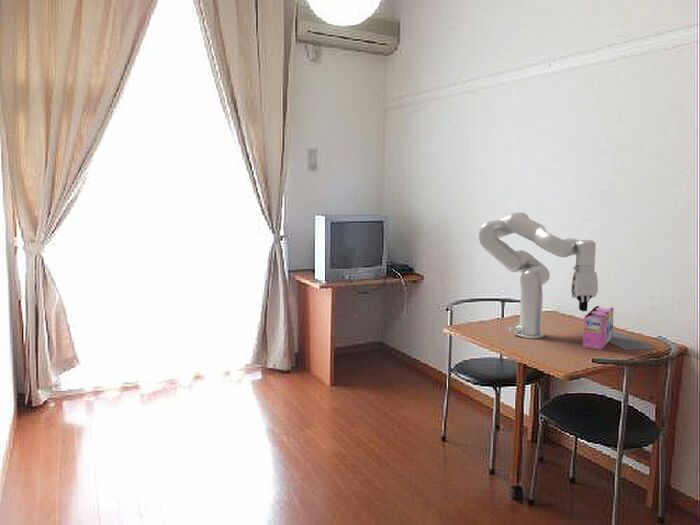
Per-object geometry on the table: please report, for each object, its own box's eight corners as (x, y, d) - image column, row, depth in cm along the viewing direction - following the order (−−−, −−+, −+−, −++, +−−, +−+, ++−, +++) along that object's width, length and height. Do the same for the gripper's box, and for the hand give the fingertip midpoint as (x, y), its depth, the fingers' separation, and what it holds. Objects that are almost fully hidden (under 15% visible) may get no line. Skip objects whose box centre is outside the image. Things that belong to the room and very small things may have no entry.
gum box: (595, 333, 254) (596, 305, 252) (613, 336, 249) (615, 307, 247) (582, 347, 235) (583, 316, 233) (601, 350, 230) (603, 319, 228)
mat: (625, 350, 231) (625, 349, 231) (591, 334, 254) (591, 333, 254) (654, 348, 233) (654, 347, 233) (618, 333, 256) (618, 332, 256)
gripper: (574, 270, 230) (572, 313, 232) (606, 269, 232) (604, 311, 235) (564, 268, 237) (562, 309, 240) (595, 266, 240) (593, 307, 242)
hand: (583, 310), depth 237 cm, fingers closed
